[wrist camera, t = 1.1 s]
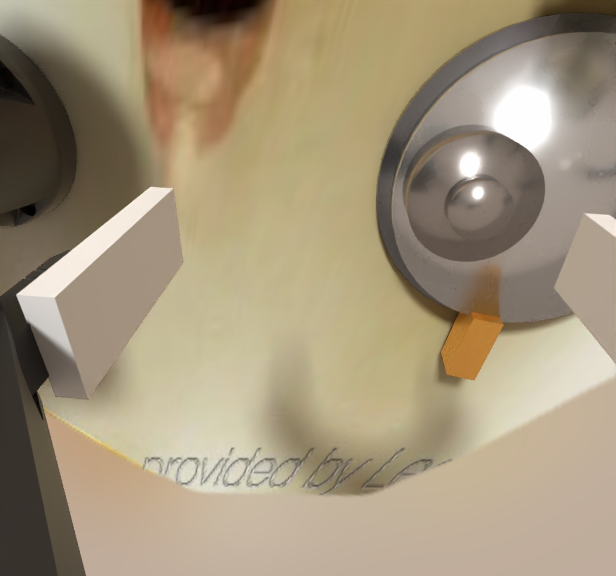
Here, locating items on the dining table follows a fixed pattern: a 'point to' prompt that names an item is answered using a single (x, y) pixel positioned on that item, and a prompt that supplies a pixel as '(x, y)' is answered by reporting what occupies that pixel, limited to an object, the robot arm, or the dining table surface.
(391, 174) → the turntable base
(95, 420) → the dining table surface
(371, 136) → the dining table surface
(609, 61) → the turntable
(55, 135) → the robot arm
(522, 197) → the cover
